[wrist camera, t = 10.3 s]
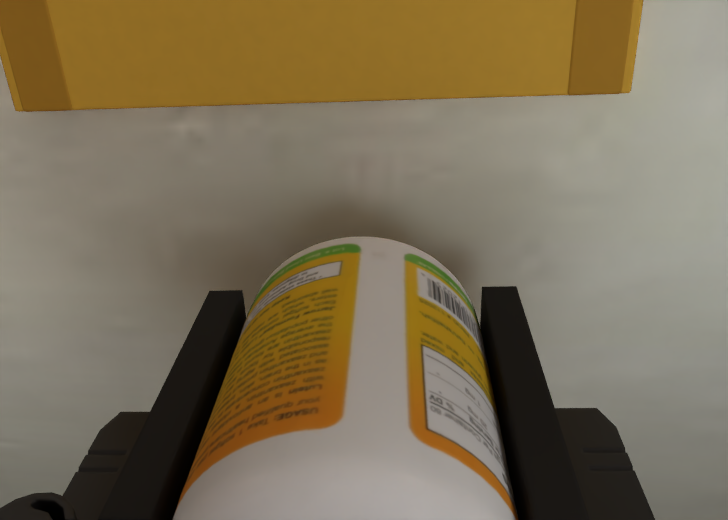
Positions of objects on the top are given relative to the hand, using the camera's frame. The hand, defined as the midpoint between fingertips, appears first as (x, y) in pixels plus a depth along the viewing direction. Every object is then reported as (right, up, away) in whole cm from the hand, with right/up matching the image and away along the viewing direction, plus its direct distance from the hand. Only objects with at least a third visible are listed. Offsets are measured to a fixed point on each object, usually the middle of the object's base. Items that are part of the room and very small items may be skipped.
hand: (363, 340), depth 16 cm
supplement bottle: (0, 0, 0) cm, 0 cm away
